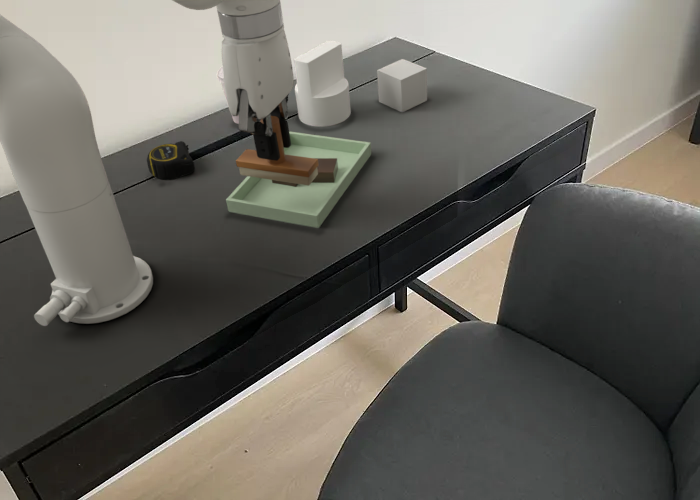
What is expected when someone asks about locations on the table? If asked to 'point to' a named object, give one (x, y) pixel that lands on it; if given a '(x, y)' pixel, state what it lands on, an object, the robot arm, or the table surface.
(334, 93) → the base with upright slab
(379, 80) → the light grey cube
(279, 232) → the table surface
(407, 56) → the table surface
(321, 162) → the chip
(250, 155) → the brush
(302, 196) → the tray
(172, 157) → the tape measure
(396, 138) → the table surface
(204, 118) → the table surface
